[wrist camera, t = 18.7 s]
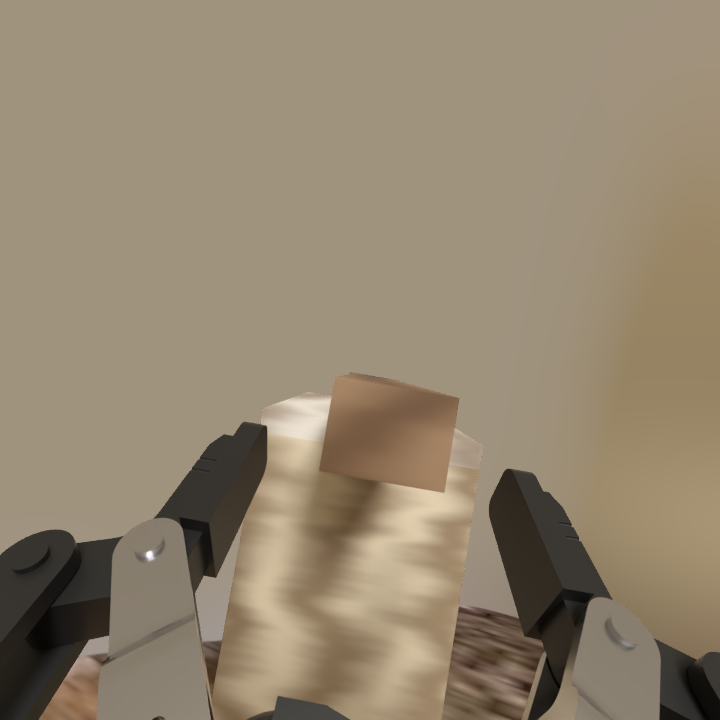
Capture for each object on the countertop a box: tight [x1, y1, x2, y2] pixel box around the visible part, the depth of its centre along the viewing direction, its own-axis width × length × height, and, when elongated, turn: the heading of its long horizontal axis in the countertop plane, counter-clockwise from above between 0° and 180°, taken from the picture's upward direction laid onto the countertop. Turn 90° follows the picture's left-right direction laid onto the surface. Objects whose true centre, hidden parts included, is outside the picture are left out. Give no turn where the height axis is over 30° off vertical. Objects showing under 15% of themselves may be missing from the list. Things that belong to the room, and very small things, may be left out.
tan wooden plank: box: [319, 373, 459, 493], centre depth 23 cm, size 5×25×3 cm, turn 179°
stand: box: [212, 392, 483, 720], centre depth 28 cm, size 14×16×32 cm
